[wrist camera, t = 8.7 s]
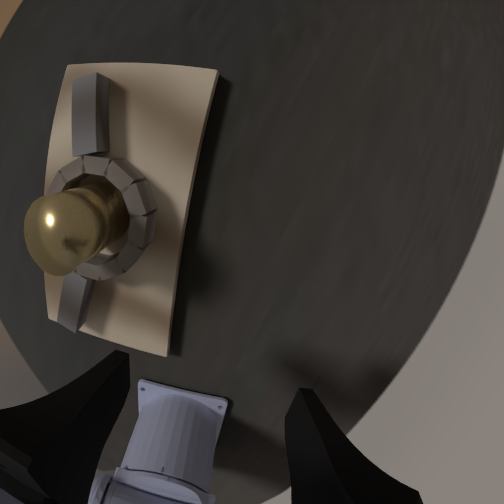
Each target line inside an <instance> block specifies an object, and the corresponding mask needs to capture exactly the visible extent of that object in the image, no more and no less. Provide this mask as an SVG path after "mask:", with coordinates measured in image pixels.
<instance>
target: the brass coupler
mask: <svg viewBox="0 0 504 504" xmlns="http://www.w3.org/2000/svg"><path fill="white" fill-rule="evenodd" d="M129 224H130V214H129V212H128V209H127V206H126V203H125V200H124V197H123V195H122V192H121V191H120V190H119V189H118V188H117V187H116V186H115V185H113V184H112V183H109V182H99V183H95V184H90V185H86V186H82V187H77V188H73V189H69V190H65V191H61V192H57V193H54V194H50V195H46V196H43V197H40V198H38V199H37V200H35V201H34V202H33V203H32V204H31V206H30V207H29V209H28V211H27V214H26V217H25V223H24V236H25V241H26V245H27V248H28V251H29V253H30V255H31V257H32V258H33V260H34V261H35V263H36V264H37V265H38V266H39V267H40V268H41V269H42V270H44V271H45V272H47V273H48V274H51V275H54V276H65V275H68V274H70V273H71V272H72V271H74V270H75V269H77V268H78V267H79V266H81V265H82V264H83V263H85V262H86V261H88V260H89V259H90V258H92V257H93V256H95V255H96V254H97V253H99V252H100V251H102V250H103V249H105V248H106V247H107V246H109V245H110V244H112V243H113V242H115V241H116V240H118V239H119V238H121V237H122V236H123V235H124V234H125V232H126V231H127V229H128V227H129Z"/></svg>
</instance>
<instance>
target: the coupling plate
mask: <svg viewBox="0 0 504 504" xmlns="http://www.w3.org/2000/svg"><path fill="white" fill-rule="evenodd" d="M218 77H219V73H218V70H213V69H206V68H198V67H189V66H179V65H167V64H150V63H90V64H74V65H67V69H66V72H65V76H64V79H63V83H62V87H61V90H60V94H59V99H58V103H57V107H56V112H55V117H54V122H53V127H52V133H51V139H50V145H49V152H48V160H47V168H46V178H45V190H44V196H46V195H50V194H54V193H57V192H61V191H65V190H69V189H73V188H77V187H82V186H86V185H90V184H95V183H99V182H109V183H112V184H113V185H115V186H116V187H117V188H118V189H119V190H120V191H121V192H122V195H123V197H124V200H125V203H126V206H127V209H128V212H129V214H130V224H129V227H128V229H127V231H126V232H125V234H124V235H123V236H122V237H121V238H119V239H118V240H116V241H115V242H113V243H112V244H110V245H109V246H107V247H106V248H105V249H103V250H102V251H100V252H99V253H97V254H96V255H95V256H93V257H92V258H90V259H89V260H88V261H86V262H85V263H83V264H82V265H81V266H79V267H78V268H77V269H75V270H74V271H72V272H71V273H70V274H68V275H65V276H54V275H51V274H48V273H47V272H45V271H44V278H45V290H46V300H47V308H48V316H49V319H51V320H54V321H56V322H58V323H60V324H61V325H63V326H64V327H66V328H67V329H69V330H71V331H72V332H74V333H75V334H76V332H77V331H78V330H80V331H83V332H85V333H88V334H91V335H94V336H97V337H100V338H103V339H106V340H109V341H112V342H115V343H118V344H122V345H125V346H128V347H132V348H135V349H139V350H142V351H146V352H149V353H153V354H157V355H160V356H164V357H167V355H168V352H169V350H170V340H171V330H172V321H173V312H174V304H175V296H176V288H177V281H178V274H179V267H180V260H181V253H182V247H183V241H184V234H185V228H186V223H187V217H188V211H189V206H190V200H191V195H192V190H193V185H194V180H195V175H196V170H197V165H198V160H199V155H200V151H201V146H202V142H203V137H204V133H205V129H206V124H207V120H208V116H209V112H210V108H211V104H212V100H213V96H214V92H215V88H216V85H217V81H218Z"/></svg>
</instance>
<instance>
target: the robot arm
mask: <svg viewBox="0 0 504 504" xmlns="http://www.w3.org/2000/svg"><path fill="white" fill-rule="evenodd" d="M144 388H145V389H144ZM129 389H130V367H129V354H128V353H125V352H122V351H119V350H115V351H113V352H112V353H111V354H109V355H108V356H107V357H105V358H104V359H103V360H102V361H100V362H99V363H98V364H96V365H95V366H94V367H92V368H91V369H90V370H88V371H87V372H85V373H84V374H83V375H81V376H80V377H78V378H77V379H75V380H73V381H72V382H70V383H69V384H67V385H65V386H64V387H62V388H60V389H58V390H56V391H54V392H52V393H50V394H48V395H46V396H44V397H41V398H39V399H36V400H34V401H31V402H29V403H25V404H22V405H18V406H15V407H11V408H6V409H1V410H0V504H215V501H216V496H215V495H212V494H210V487H211V477H212V468H213V459H214V450H215V447H216V443H217V440H218V436H219V433H220V429H221V426H222V423H223V419H224V415H225V412H226V408H227V405H228V401H227V399H225V398H221V397H216V396H211V395H206V394H201V393H196V392H191V391H187V390H183V389H178V388H174V387H170V386H166V385H162V384H159V383H155V382H151V381H148V380H144V379H141V380H139V382H138V402H139V417H138V420H137V423H136V425H135V428H134V431H133V434H132V436H131V439H130V442H129V445H128V447H127V450H126V453H125V456H124V459H123V462H122V464H121V467H120V468H119V467H117V468H116V471H115V474H114V477H113V476H111V475H108V474H104V475H103V476H100V477H97V478H96V479H95V481H94V482H93V479H94V475H95V472H96V469H97V465H98V462H99V459H100V456H101V453H102V450H103V447H104V445H105V443H106V441H107V439H108V437H109V434H110V432H111V430H112V428H113V426H114V424H115V422H116V420H117V418H118V416H119V414H120V412H121V410H122V408H123V406H124V403H125V401H126V398H127V395H128V392H129ZM285 441H286V449H287V456H288V463H289V470H290V477H291V497H292V498H291V499H292V504H423V502H422V499H421V497H420V494H419V492H418V491H417V490H415V489H413V488H410V487H408V486H407V485H405V484H403V483H400V482H399V481H397V480H396V479H394V478H392V477H390V476H389V475H388V474H386V473H385V472H383V471H382V470H381V469H379V468H378V467H377V466H376V465H374V464H373V463H372V462H371V461H370V460H368V459H367V458H366V457H365V456H364V455H363V454H362V453H361V452H360V451H359V450H358V449H357V448H356V447H355V446H354V445H353V444H352V443H351V442H350V441H349V439H348V438H347V437H346V436H345V435H344V433H343V432H342V431H341V430H340V428H339V427H338V426H337V424H336V423H335V422H334V420H333V419H332V417H331V416H330V415H329V413H328V412H327V410H326V409H325V407H324V406H323V404H322V403H321V401H320V400H319V398H318V397H317V395H316V394H315V392H314V391H313V389H305V388H299V389H298V391H297V393H296V396H295V398H294V400H293V402H292V404H291V406H290V408H289V410H288V412H287V414H286V416H285ZM92 483H93V484H92Z"/></svg>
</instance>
